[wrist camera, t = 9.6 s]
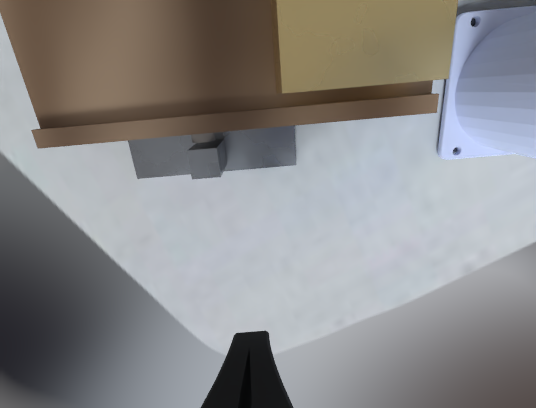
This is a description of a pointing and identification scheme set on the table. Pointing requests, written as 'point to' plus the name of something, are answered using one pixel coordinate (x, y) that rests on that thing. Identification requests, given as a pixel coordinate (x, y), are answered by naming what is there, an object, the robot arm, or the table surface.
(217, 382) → the robot arm
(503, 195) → the table surface
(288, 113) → the beam
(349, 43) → the rider
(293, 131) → the beam stand
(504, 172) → the table surface
